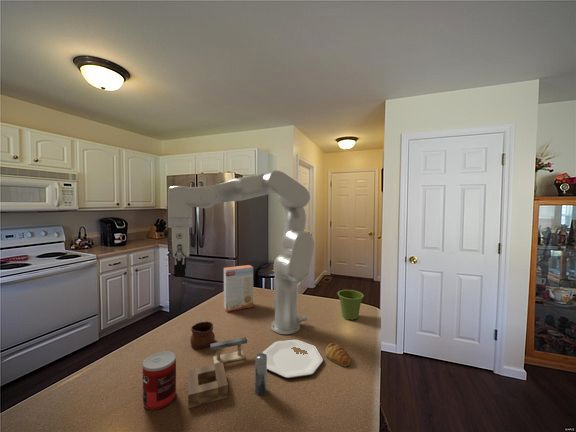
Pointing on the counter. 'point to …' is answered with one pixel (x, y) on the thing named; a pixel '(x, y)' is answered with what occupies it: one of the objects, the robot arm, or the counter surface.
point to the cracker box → (238, 287)
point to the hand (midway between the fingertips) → (180, 272)
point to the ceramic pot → (202, 335)
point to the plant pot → (350, 303)
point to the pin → (260, 373)
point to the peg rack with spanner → (229, 356)
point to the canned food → (159, 380)
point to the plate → (292, 359)
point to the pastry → (337, 354)
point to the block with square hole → (206, 385)
